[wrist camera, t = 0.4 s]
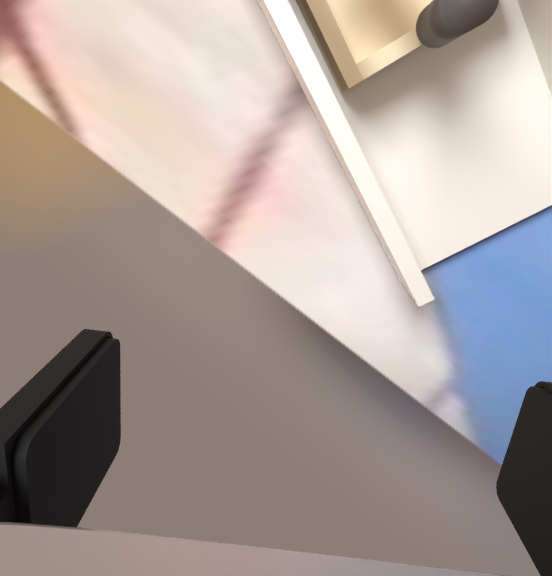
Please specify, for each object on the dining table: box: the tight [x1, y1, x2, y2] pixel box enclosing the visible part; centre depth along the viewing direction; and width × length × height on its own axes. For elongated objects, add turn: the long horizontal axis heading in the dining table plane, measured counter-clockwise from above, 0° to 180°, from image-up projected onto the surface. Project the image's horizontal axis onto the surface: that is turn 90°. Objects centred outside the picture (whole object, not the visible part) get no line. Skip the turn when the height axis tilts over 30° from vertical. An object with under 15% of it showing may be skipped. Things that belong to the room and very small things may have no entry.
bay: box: [257, 0, 552, 307], centre depth 31 cm, size 16×28×7 cm, turn 30°
